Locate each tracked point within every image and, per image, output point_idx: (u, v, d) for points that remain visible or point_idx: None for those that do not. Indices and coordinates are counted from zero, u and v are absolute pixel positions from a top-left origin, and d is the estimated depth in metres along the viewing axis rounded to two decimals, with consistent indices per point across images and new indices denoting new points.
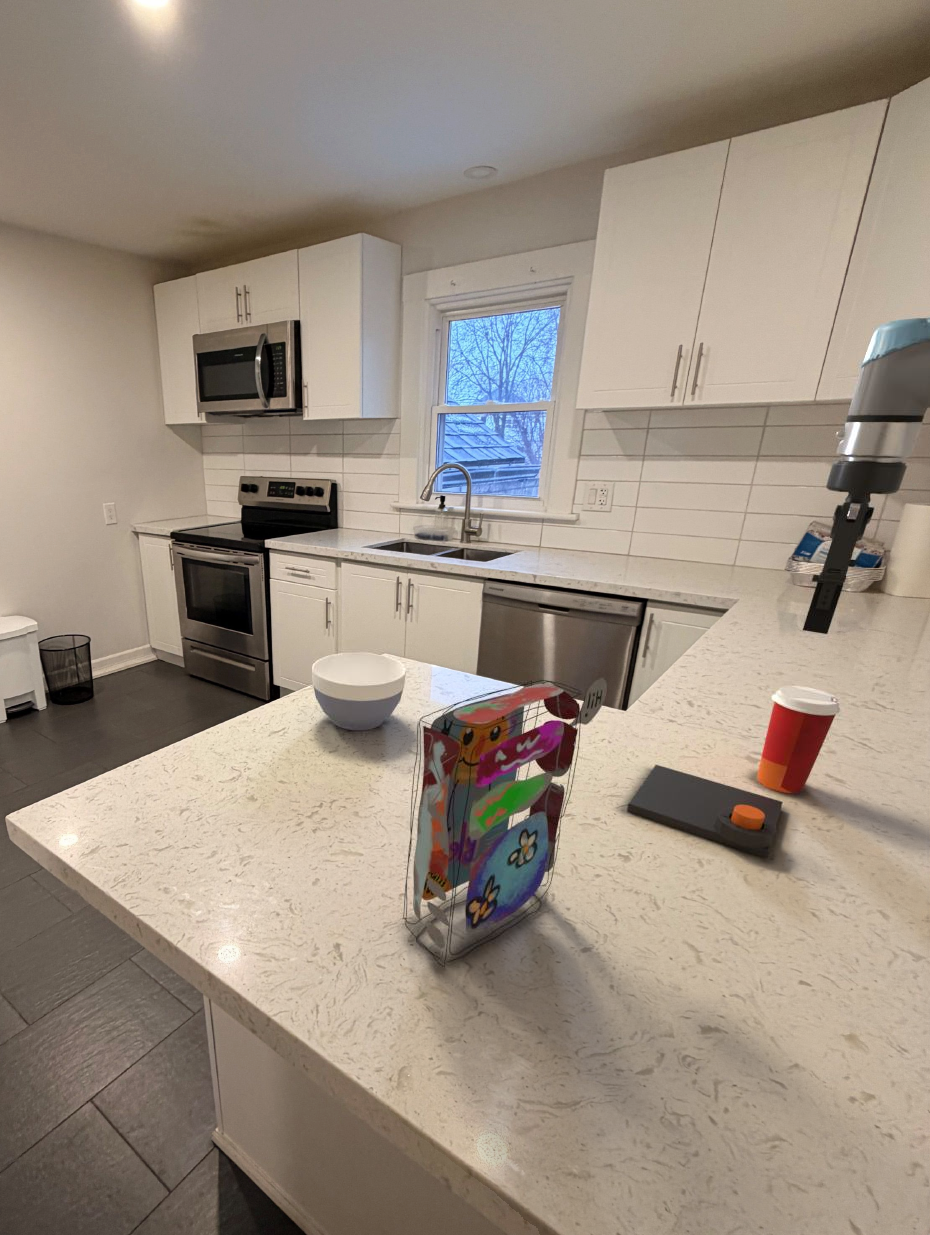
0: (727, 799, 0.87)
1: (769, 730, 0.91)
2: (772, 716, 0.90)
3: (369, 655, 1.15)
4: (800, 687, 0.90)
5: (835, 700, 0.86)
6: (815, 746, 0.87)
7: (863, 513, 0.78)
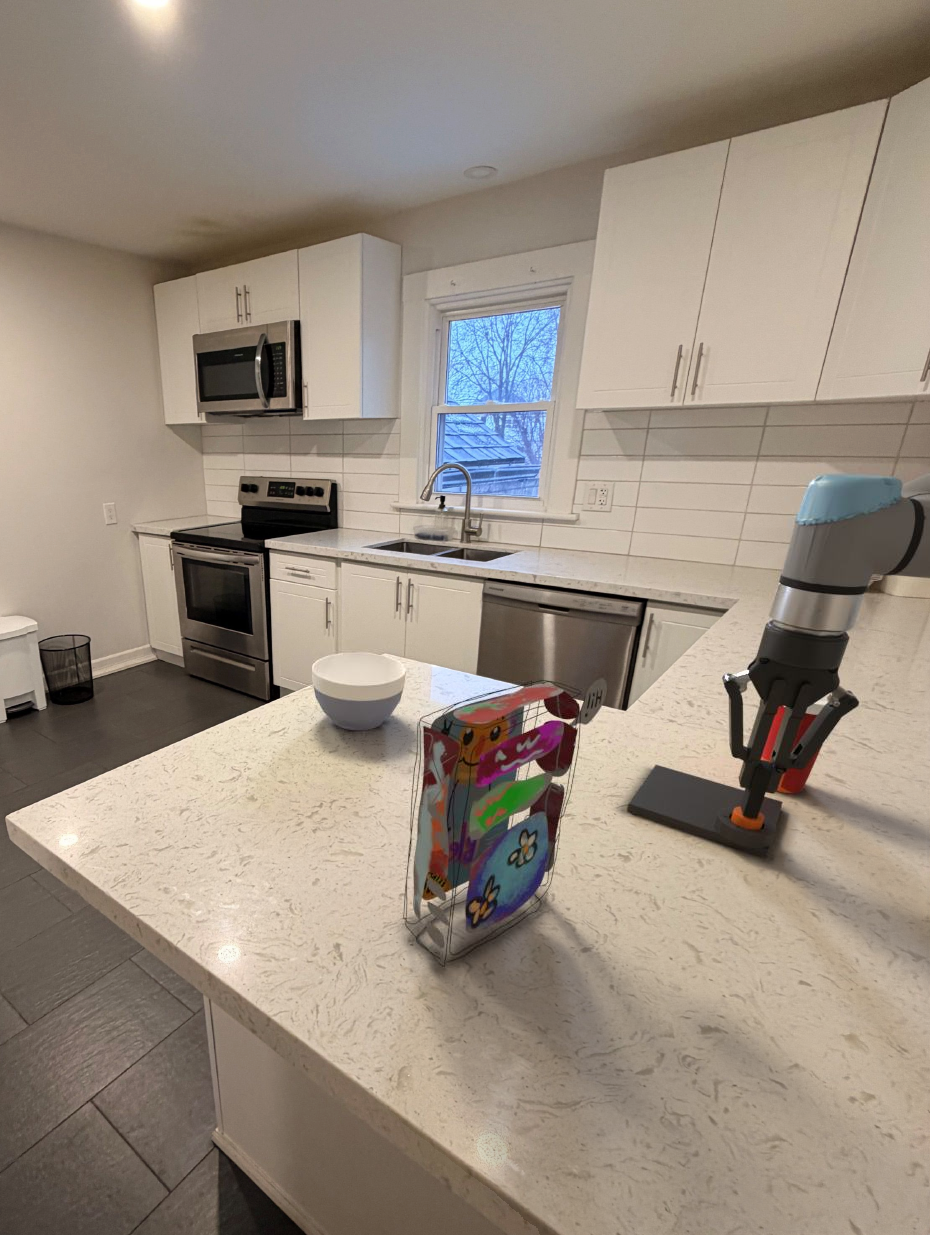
0: (727, 799, 0.87)
1: None
2: None
3: (369, 655, 1.15)
4: None
5: None
6: None
7: (726, 690, 0.74)
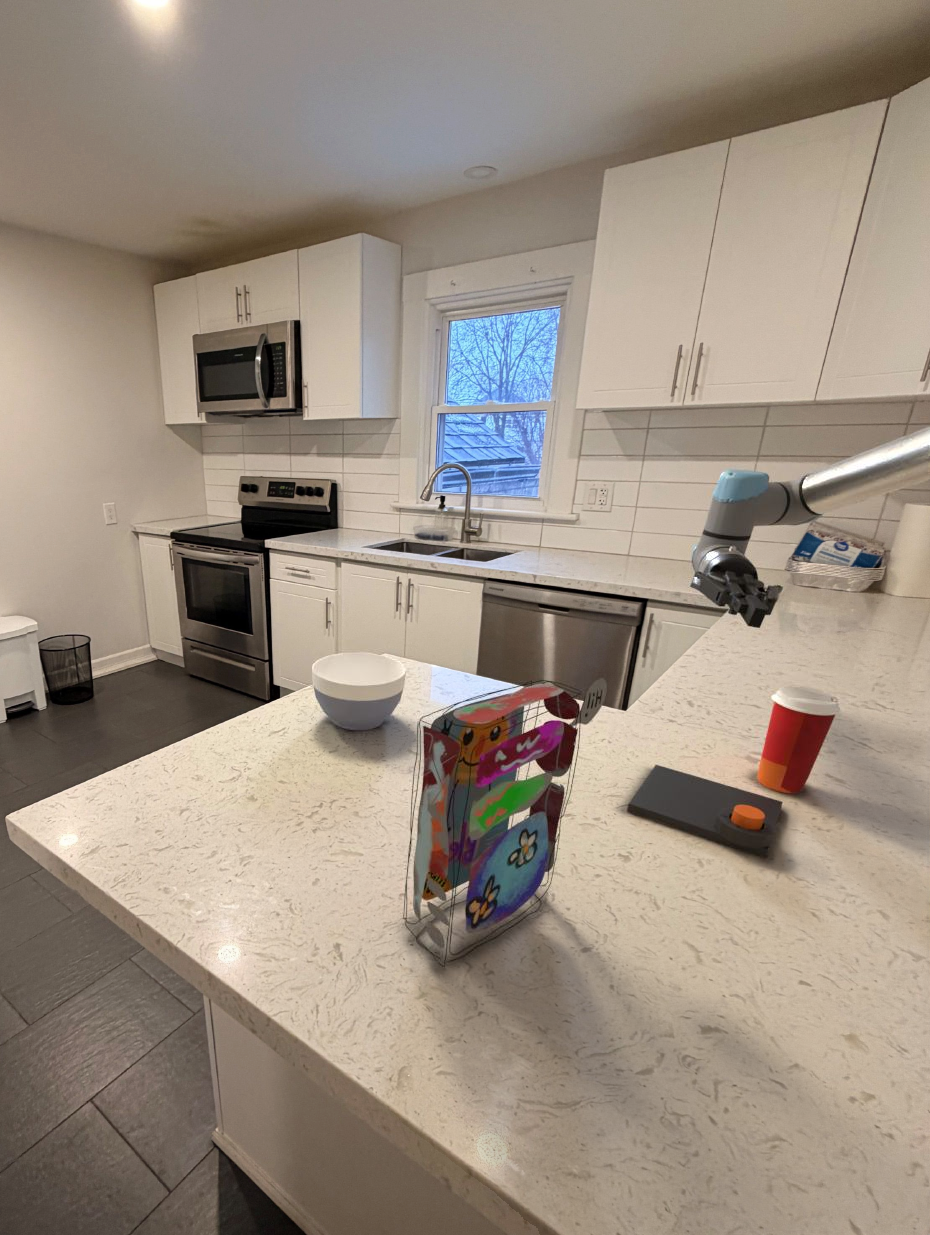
0: (727, 799, 0.87)
1: (769, 730, 0.91)
2: (772, 716, 0.90)
3: (369, 655, 1.15)
4: (800, 687, 0.90)
5: (835, 700, 0.86)
6: (815, 746, 0.87)
7: None
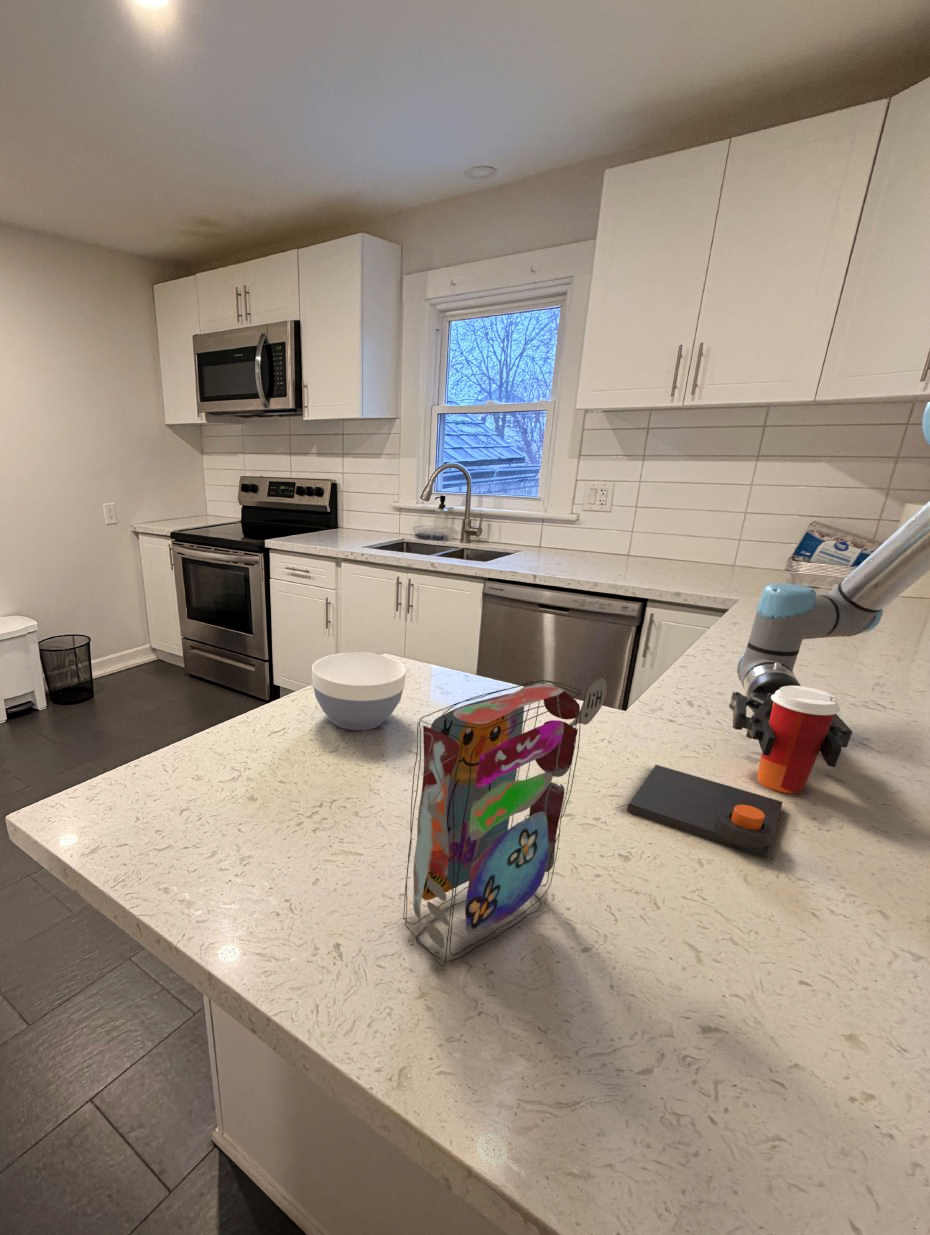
0: (727, 799, 0.87)
1: None
2: (771, 716, 0.90)
3: (369, 655, 1.15)
4: (799, 687, 0.90)
5: (834, 700, 0.86)
6: (815, 746, 0.87)
7: None
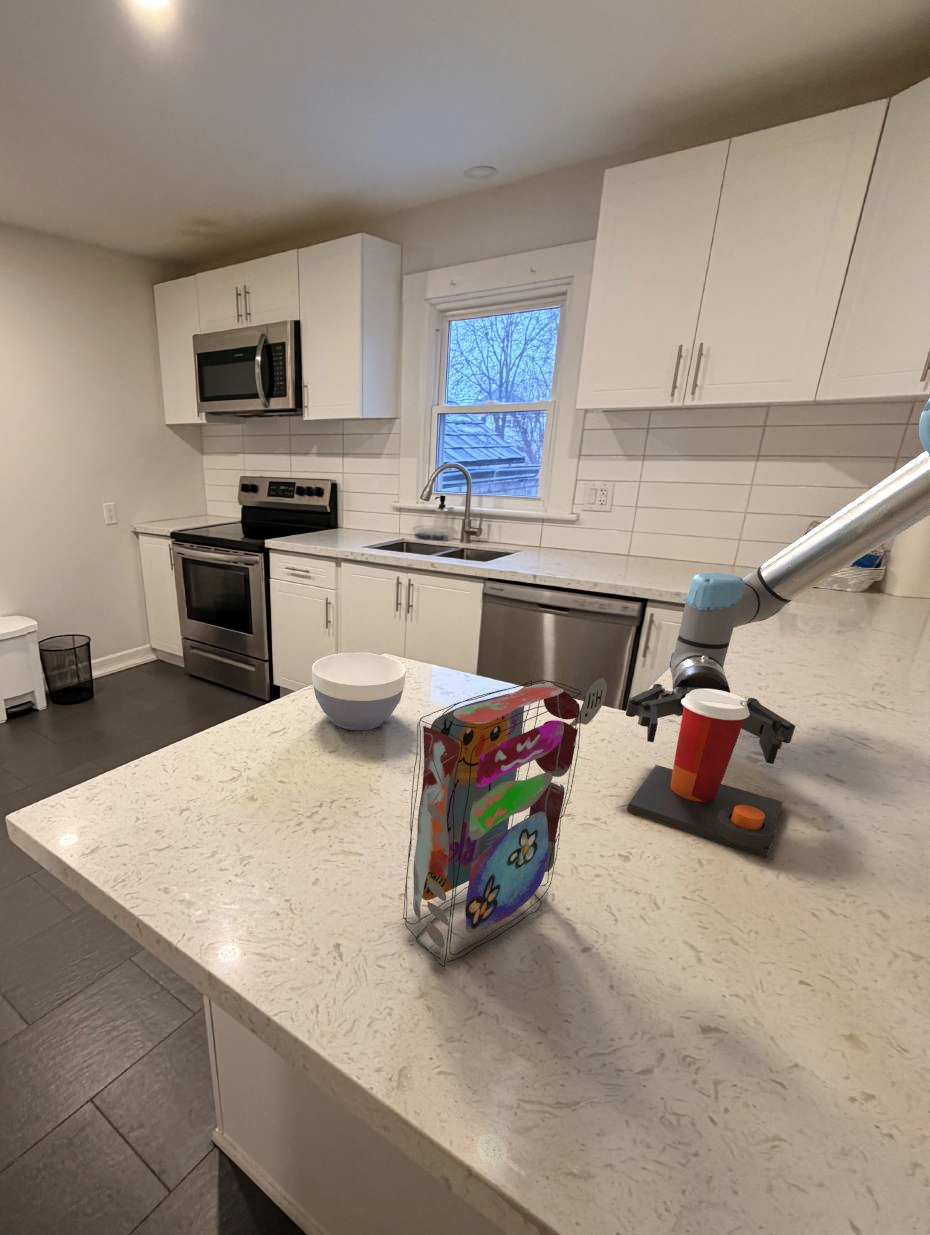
0: (727, 799, 0.87)
1: (679, 735, 0.86)
2: (682, 720, 0.85)
3: (369, 655, 1.15)
4: (711, 690, 0.86)
5: (744, 704, 0.81)
6: (724, 752, 0.83)
7: None
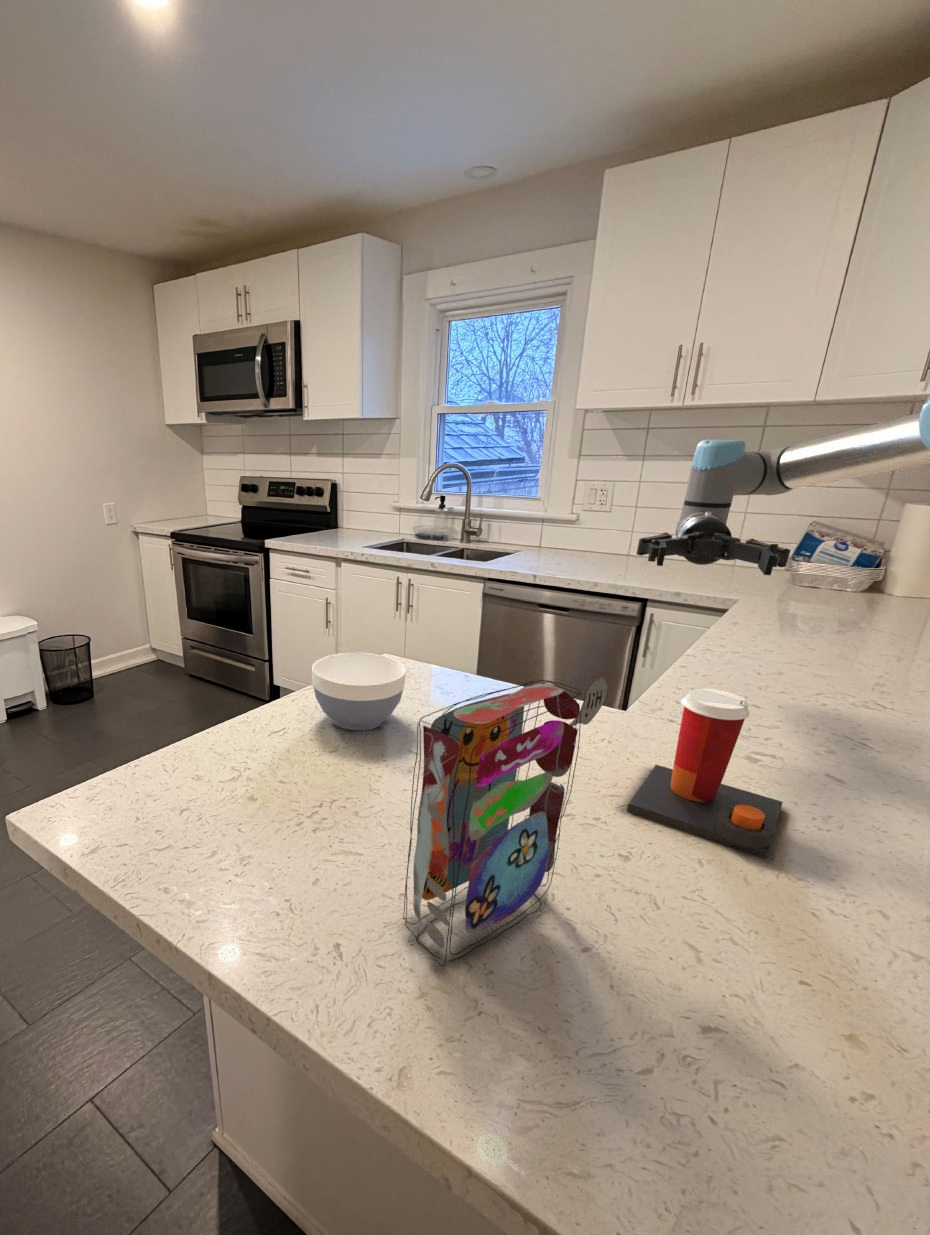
0: (727, 799, 0.87)
1: (679, 735, 0.86)
2: (682, 720, 0.85)
3: (369, 655, 1.15)
4: (711, 690, 0.86)
5: (744, 704, 0.81)
6: (724, 752, 0.83)
7: None
